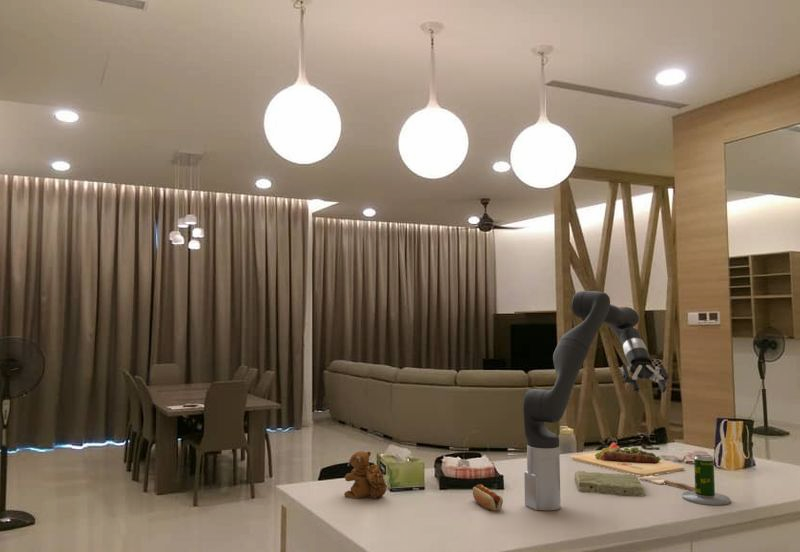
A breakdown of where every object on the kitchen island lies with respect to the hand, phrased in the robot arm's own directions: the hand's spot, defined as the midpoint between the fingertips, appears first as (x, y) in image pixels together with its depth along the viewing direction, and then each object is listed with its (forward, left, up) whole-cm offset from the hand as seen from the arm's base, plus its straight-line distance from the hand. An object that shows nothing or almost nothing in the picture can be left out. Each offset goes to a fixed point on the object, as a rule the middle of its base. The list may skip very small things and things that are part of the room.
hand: (650, 391), depth 206 cm
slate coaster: (+4, -17, -31) cm, 35 cm away
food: (-60, 0, -31) cm, 68 cm away
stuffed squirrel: (-90, +22, -31) cm, 98 cm away
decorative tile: (-14, +5, -31) cm, 35 cm away
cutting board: (+15, +31, -32) cm, 47 cm away
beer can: (+4, -17, -30) cm, 35 cm away
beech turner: (+8, -1, -31) cm, 32 cm away
